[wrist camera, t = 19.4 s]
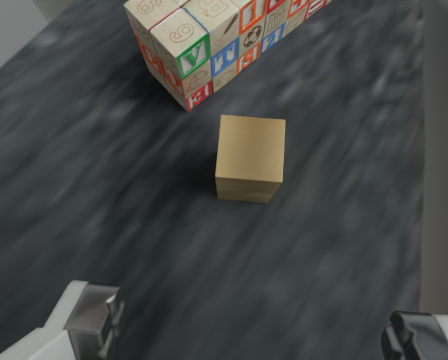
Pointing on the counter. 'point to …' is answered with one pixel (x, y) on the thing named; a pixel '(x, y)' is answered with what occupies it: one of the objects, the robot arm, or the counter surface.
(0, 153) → the counter surface
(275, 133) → the birch block
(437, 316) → the robot arm
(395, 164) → the counter surface
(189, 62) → the stack of blocks
